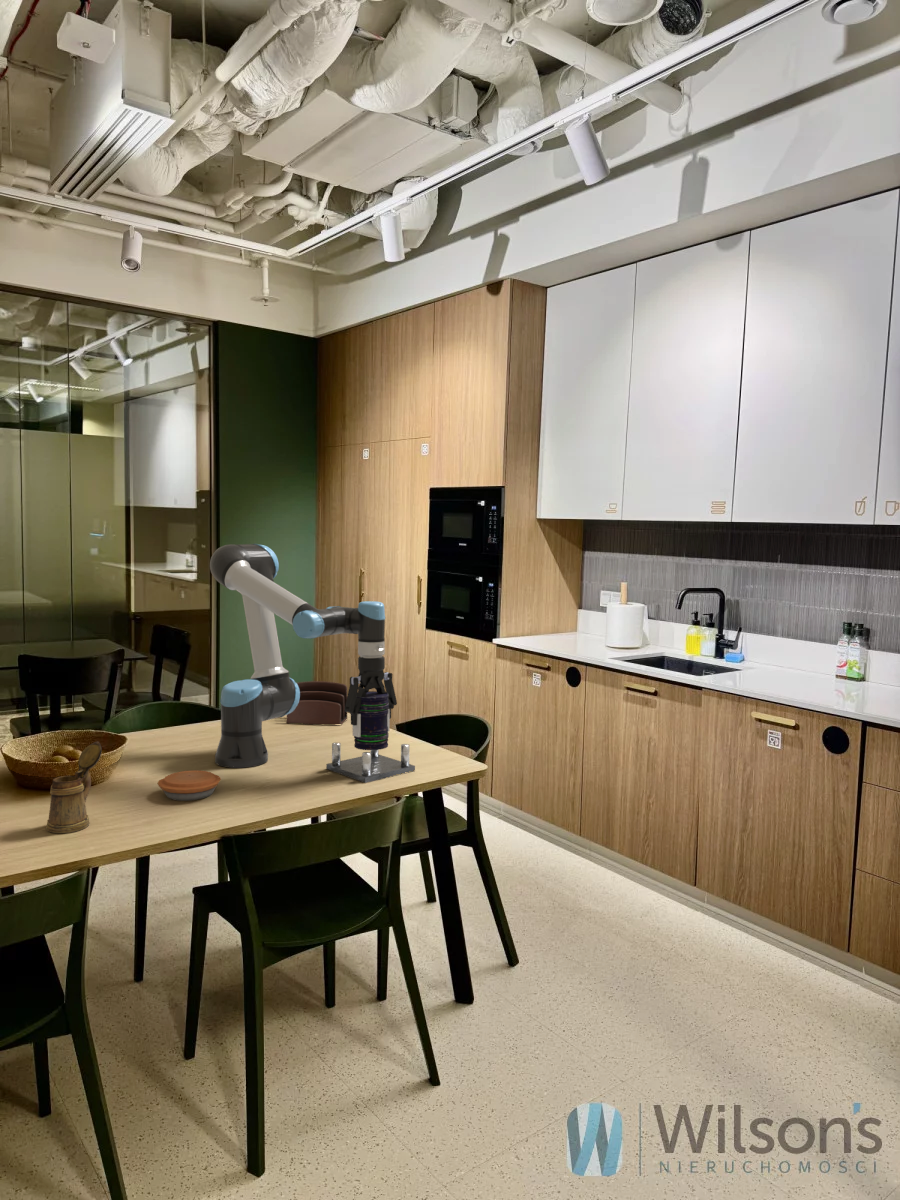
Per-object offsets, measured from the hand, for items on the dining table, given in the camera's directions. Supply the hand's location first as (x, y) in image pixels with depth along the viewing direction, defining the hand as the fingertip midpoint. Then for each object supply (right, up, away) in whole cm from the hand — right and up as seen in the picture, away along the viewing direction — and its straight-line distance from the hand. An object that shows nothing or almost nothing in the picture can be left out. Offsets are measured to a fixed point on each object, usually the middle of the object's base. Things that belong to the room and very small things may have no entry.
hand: (371, 733), depth 243 cm
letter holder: (-25, -6, +62) cm, 67 cm away
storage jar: (0, -4, 0) cm, 4 cm away
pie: (-45, -12, -24) cm, 52 cm away
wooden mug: (-64, -14, -47) cm, 80 cm away
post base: (0, -11, +1) cm, 11 cm away
